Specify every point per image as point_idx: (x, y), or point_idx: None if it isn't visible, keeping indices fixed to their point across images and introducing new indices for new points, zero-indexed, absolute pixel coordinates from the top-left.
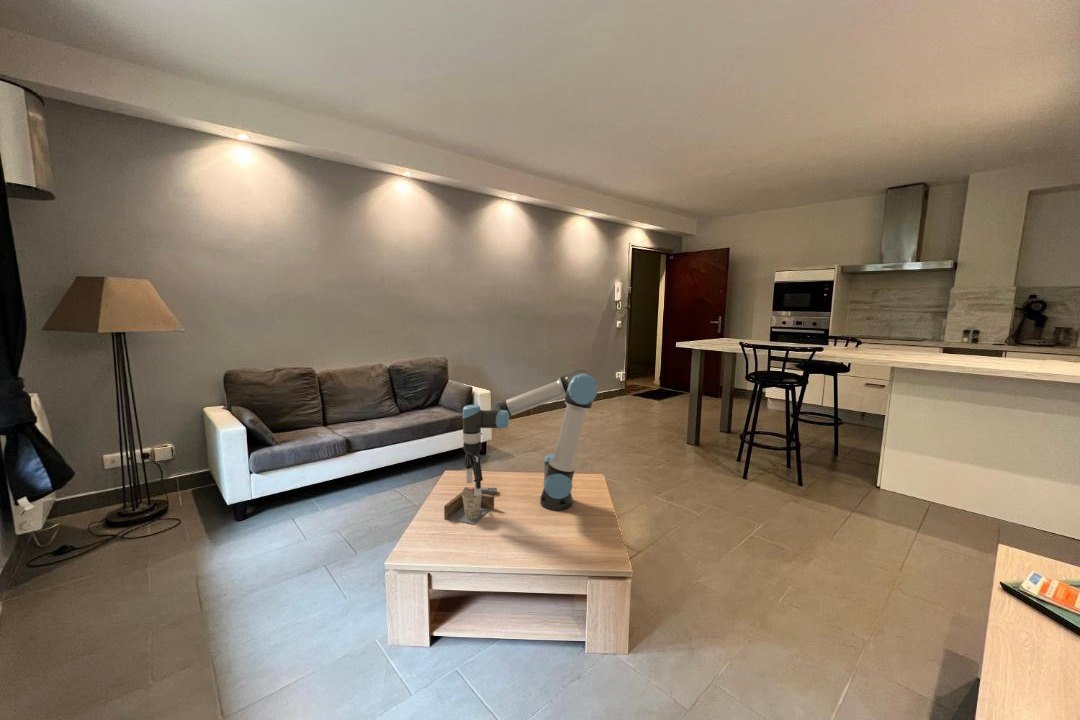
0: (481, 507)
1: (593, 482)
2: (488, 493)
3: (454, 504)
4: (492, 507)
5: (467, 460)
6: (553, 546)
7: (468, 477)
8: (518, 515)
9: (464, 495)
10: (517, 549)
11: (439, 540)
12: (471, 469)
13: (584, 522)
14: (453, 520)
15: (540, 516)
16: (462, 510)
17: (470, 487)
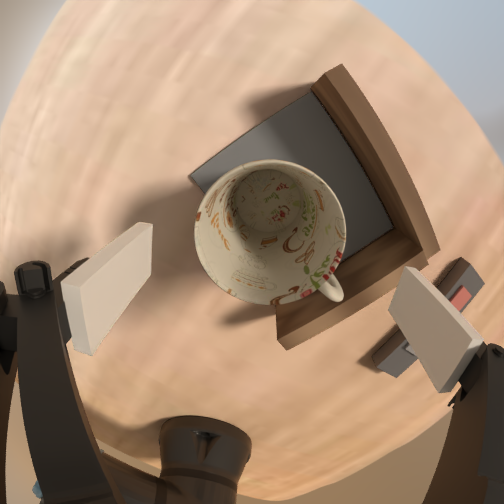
0: None
1: (255, 495)
2: (395, 341)
3: (363, 143)
4: (276, 307)
5: (483, 494)
6: None
7: (422, 307)
8: (181, 350)
9: (323, 193)
10: (16, 240)
11: (157, 14)
12: (440, 382)
13: (96, 417)
14: (285, 107)
15: (149, 385)
16: (348, 184)
17: (467, 300)
